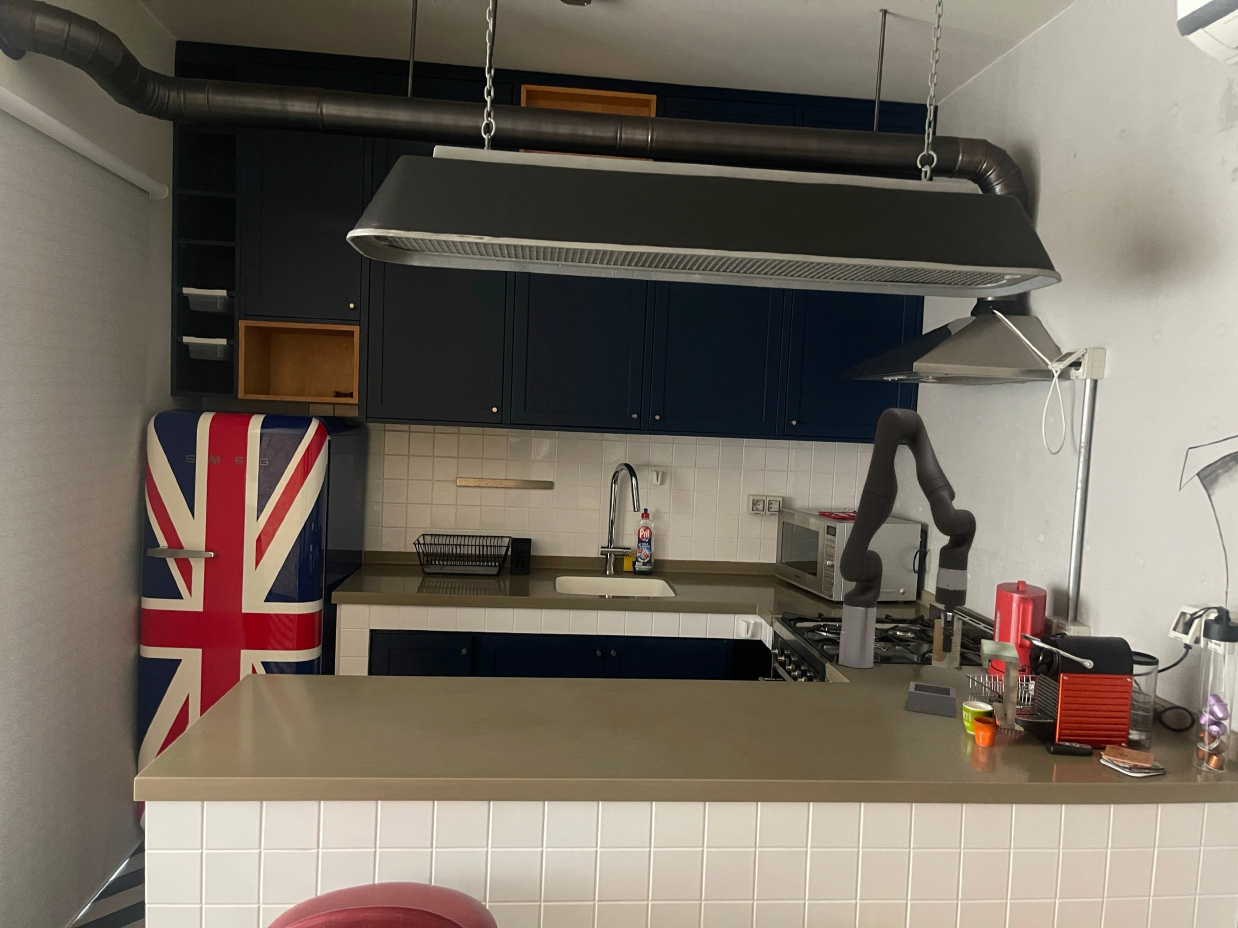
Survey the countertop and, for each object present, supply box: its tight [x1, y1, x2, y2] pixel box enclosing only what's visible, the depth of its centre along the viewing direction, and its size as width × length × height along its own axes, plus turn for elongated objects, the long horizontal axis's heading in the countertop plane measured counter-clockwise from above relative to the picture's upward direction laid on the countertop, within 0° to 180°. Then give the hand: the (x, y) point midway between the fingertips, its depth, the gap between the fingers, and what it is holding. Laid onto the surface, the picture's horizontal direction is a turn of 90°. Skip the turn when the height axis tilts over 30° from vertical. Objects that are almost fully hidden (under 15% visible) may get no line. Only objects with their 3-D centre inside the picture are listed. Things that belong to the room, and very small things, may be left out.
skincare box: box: [931, 618, 963, 670], centre depth 224 cm, size 6×4×12 cm
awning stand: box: [979, 638, 1025, 732], centre depth 202 cm, size 10×18×16 cm, turn 159°
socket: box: [907, 681, 957, 718], centre depth 207 cm, size 10×10×4 cm
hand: (946, 648), depth 224 cm, fingers closed on skincare box, 7 cm apart
